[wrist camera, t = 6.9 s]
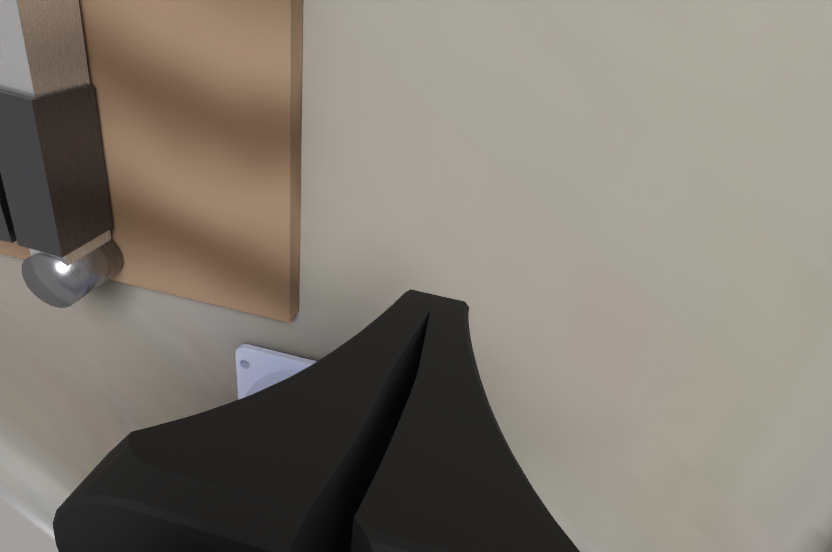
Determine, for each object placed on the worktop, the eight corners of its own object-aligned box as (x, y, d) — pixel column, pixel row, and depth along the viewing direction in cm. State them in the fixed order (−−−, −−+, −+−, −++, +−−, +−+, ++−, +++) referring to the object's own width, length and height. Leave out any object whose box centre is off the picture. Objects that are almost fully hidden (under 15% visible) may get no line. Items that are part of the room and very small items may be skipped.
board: (298, 310, 25) (289, 322, 24) (-42, 229, 27) (-62, 238, 26) (306, -254, 15) (291, -267, 14) (-231, -307, 17) (-273, -322, 16)
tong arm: (124, 281, 24) (78, 315, 22) (76, 268, 25) (26, 299, 22) (58, -239, 15) (-34, -278, 13) (-18, -253, 15) (-121, -294, 13)
